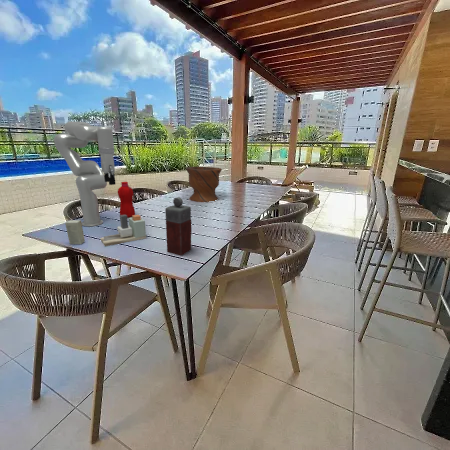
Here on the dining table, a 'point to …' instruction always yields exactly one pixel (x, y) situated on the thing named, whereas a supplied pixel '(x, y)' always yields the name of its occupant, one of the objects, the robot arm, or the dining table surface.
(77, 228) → the skincare box
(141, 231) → the end cabinet
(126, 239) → the track
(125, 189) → the water bottle
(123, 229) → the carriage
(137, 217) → the button
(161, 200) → the dining table surface
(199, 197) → the wooden planter
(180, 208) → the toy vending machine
